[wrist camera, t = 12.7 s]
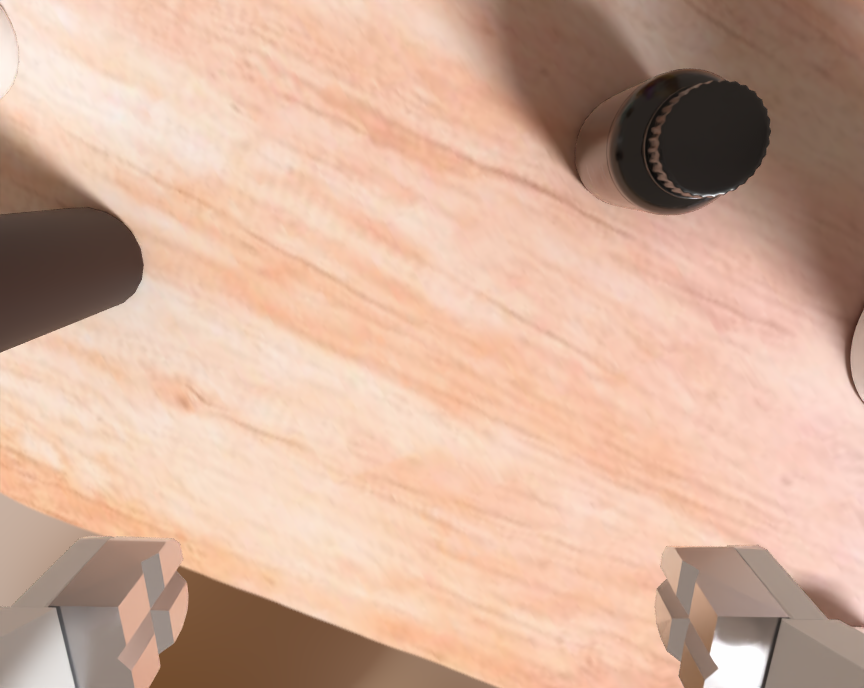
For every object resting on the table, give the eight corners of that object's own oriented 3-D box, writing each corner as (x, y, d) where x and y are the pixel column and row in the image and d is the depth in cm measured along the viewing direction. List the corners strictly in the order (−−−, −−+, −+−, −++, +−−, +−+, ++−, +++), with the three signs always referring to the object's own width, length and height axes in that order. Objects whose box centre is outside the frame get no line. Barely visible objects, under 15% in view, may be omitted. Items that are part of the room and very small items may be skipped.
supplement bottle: (625, 67, 33) (723, 10, 22) (702, 142, 34) (835, 126, 23) (548, 159, 35) (602, 152, 23) (625, 228, 36) (712, 253, 24)
